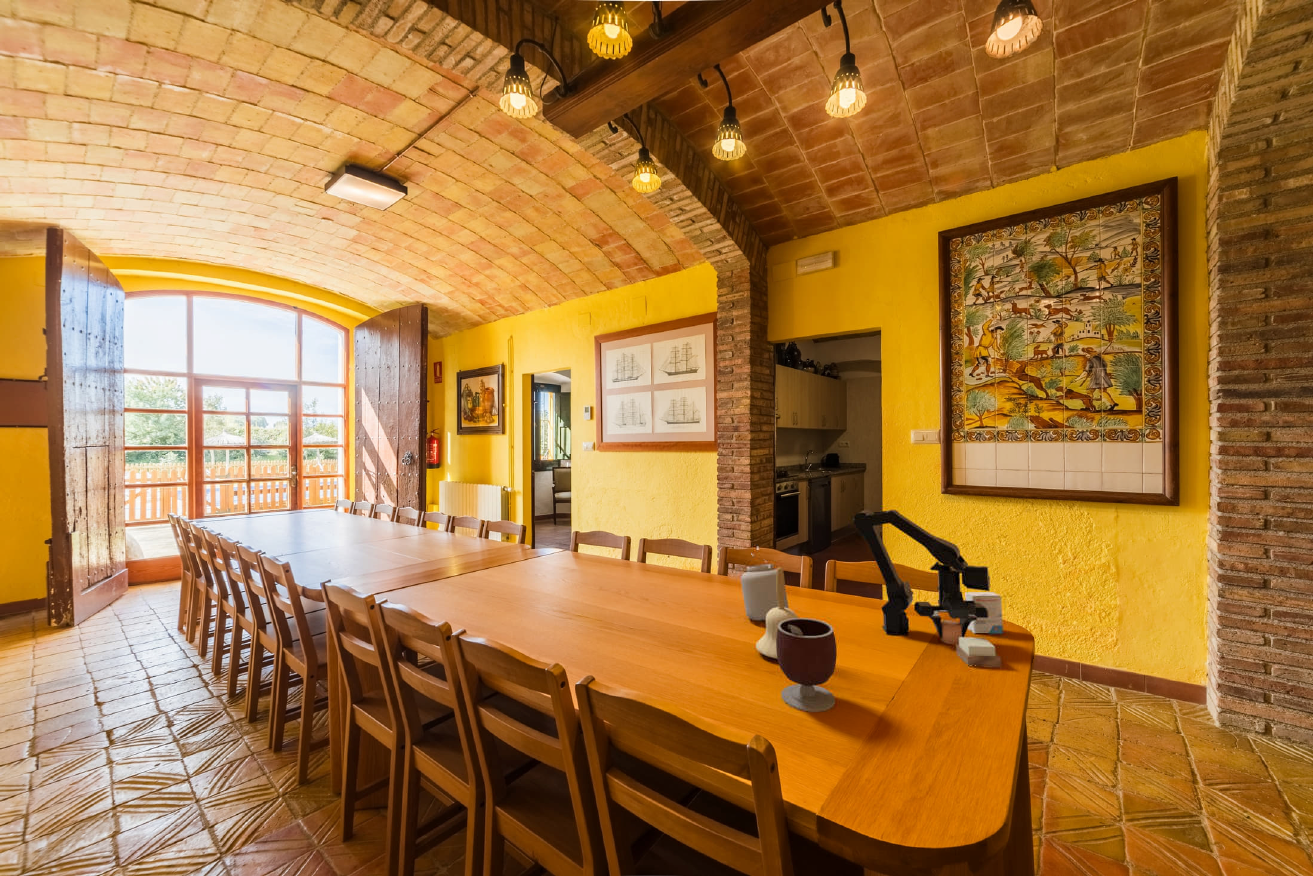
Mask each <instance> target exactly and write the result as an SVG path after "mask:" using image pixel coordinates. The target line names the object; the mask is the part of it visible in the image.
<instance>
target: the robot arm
mask: <svg viewBox="0 0 1313 876" xmlns="http://www.w3.org/2000/svg"><path fill="white" fill-rule="evenodd" d="M852 521H853V522H852V523H853V525H854V527H855V528H856V529H857V531H858V532H859V534H860V535H861V537H863V538H864V540H866V542H867V544H868V547H869V550H870V551H871V553H872V556H873V558H874V560H875V562H876V565H877V567H878V569H879V571H880V573H881V576H882V578H883V580H884V583H885V590H886V596H887V599H888V600H887V602H885V604H884V605H883V606H881V612H882V613H883V614H882V615H883V616H882V617H883V625H881V626H882V629H883V630H884V632H885V634H886V635H897V636H898V635H900V636H901V635H902V636H909V635H910V633H909V631H910V625H909V624H910V621H909V617H908V616H907V612H905V611H906V610H907V609H908V608H909V607H910V605H911V604H912V603H913V599H914V596H913V595H914V591H913V590H912V588H911V587H910V583H909V580H908V581H907V580H906V581H903V580H902V579H901V578H900V577H899V575H898V573H897V570H896V568H895V566H894V563H893V561H892V559H891V558H890V555H889V552H888V551H887V548H886V546H885V544H884V541H883V539H882V538H881V535H880V534H881V533H880V525H886V524H890V525H892V526H893V527H895V528H896V529H898V530H899V531H901V532H902V533H904V534H905V535H907V536H908V537H910V538H911V539H913V540H914V541H916V542H917V543H919V544H920V545H922V546H923V547H924V548H925V549H926V550H927V551H928V553H929V554H930V555H931V556H933V557H934V559H935V560H936V562H935V563H934V564H933V565H932V566H931V567H930V570H931V571H937V579H938V580H937V582H938V583H937V584H938V586H937V592H938V600H937V604H938V605H932V604H931V603H930V602H929V601H916V602H915V603H914V605H913V607H914V611H915V613H916V614H917V615H918V616H920V617H928V618H929V619H930V620H932V623H933V625H934V628H935V630H936V631H937V632H936V633H937V635H938V637H939V638H940V639H941V638H942V628H941V621H942V617H941V616H940V613H947V614H948V616H949V617H950V618H951V619H954V620H957V619H959V621H958V622H959V623H961V626H962V637H966V634H967V631H968V629H967V628H968V626H969V624H970V623H971V622H972V621H973V620H977V618H988V610H987V609H986V608H985V607H984V606H983V605H981V604H980V603H975V602H974V601H966V600H965V599H964V598H963V592H962V591H961V584H962V585H963V587H966V589H969V590H978V591H983V592H990V590H991V589H990V588H991V577H990V574H989V567H988V566H986V565H985V566H984V565H983V566H981V565H980V566H978V565H977V566H976V565H969V564H968V562H967V561H966V560H965V558H964V557H963V556H962V555H961V552H960V548H959V546H957V545H956V544H954V543H953V542H950V541H948V540H946V539H944V538H941V537H939V536H936V535H933V534H931V533H930V532H929V531H927V530H925V529H924V528H922V527H921V526H919V525H918V524H916V523H915V522H913V521H911V520H910V519H909V518H907V517H905V515H903V514H901V513H899V511H898V510H896V509H889V510H882V511H880V510H879V511H874V512H873V511H871V510H867V509H866V510H865V509H864V510H862V511H860V512H857V513H855V515H854V516H853V520H852ZM933 557H932V558H933ZM975 616H976V617H977V618H976V617H975Z"/></svg>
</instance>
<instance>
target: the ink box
mask: <svg viewBox="0 0 1313 876" xmlns="http://www.w3.org/2000/svg"><path fill="white" fill-rule="evenodd" d="M964 595H965V596H964V597H965V601H974V602H975V603H980V604H981V605H983V606H984V607H985V608H986V609H987V610H988V618H977V617H976V616H975V617H976V618H977V620H973V621H972V622H971V623H970V624H969V626H968V629H967V630H968V631H970V630H971V631H972V632H971V631H970V632H971V633H973V634H975V633H989V634H988V635H993V634H994V635H997V634H998V635H999V634H1000V635H1002V634H1004V628H1003V627H1004V626H1003V624H1004V623H1003V609H1002V596H1001V595H1000V594H998V593H996V592H993V591H982V592H981V591H978V592H977V591H975V592H972V591H971V592H970V591H969V592H965V594H964Z"/></svg>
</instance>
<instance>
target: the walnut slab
mask: <svg viewBox="0 0 1313 876" xmlns="http://www.w3.org/2000/svg"><path fill="white" fill-rule="evenodd" d="M955 646H956V647H955V649H956V655H957V656H958V658H960V660H961V661H962V662H963V663H964V662H965V663H966V664H967V665H968V666H967V665H966V664H965V663H964V664H965V665H966V666H967V667H972V666H975V665H976V666H988V667H987V668H994V667H1001V668H1002V658H1001V657H1000V656H999V655H998V654H997V653H996V652H995V656H969V655H968V654H967V653H966V652H965V651H964V650H963V649H962V648H961V647H960V646H959V645H955ZM970 665H972V666H970ZM990 666H991V667H990Z"/></svg>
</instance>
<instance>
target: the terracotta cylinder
mask: <svg viewBox="0 0 1313 876" xmlns="http://www.w3.org/2000/svg"><path fill="white" fill-rule="evenodd" d="M941 628H942V638H940V642H942V641H943V642H944V644H945V643H947V644H946V645H949V644H954V645H953V646H956V644H957V645H959V637H962V626H961V623H960V621H955V620H951V619H946V620H945V619H943V620H941ZM943 642H942V643H943Z"/></svg>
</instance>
